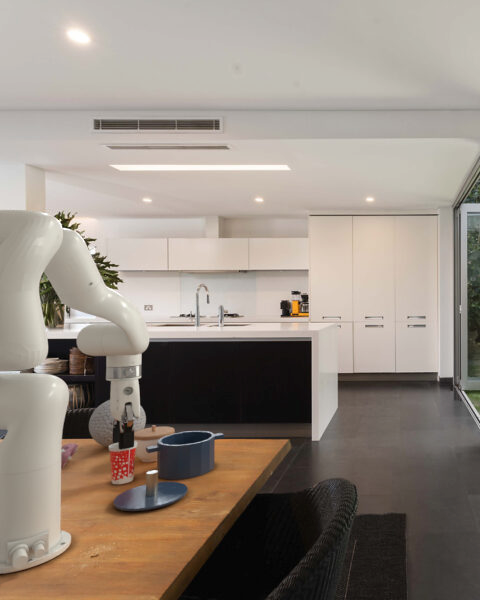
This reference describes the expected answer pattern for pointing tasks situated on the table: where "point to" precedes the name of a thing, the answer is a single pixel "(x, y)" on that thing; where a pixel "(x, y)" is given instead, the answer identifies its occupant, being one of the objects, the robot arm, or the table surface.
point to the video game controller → (67, 453)
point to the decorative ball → (109, 424)
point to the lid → (150, 494)
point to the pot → (185, 454)
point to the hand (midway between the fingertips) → (123, 444)
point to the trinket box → (150, 441)
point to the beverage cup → (122, 463)
